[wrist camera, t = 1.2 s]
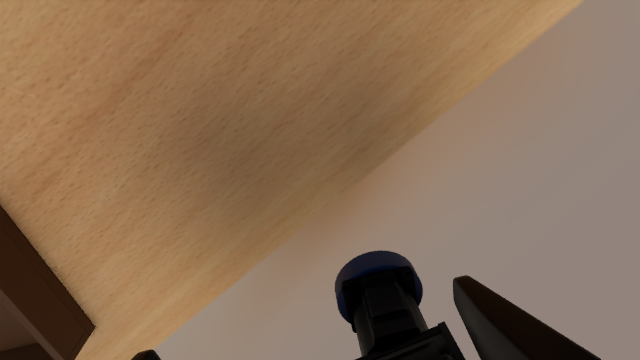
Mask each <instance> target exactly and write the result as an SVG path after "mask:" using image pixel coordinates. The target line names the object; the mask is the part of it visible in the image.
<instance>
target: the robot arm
mask: <svg viewBox="0 0 640 360" xmlns="http://www.w3.org/2000/svg"><path fill="white" fill-rule="evenodd" d="M406 271H408V272H406ZM346 285H348V286H346ZM345 286H346V287H345ZM341 289H342V293H343V296H344V300H345V304H346V308H347V312H348V315H349V319H350V323H351V327H352V331H353V332H354V333H357V336H358V341H359V345H360V350H361V354H362V357H360V358H358V359H355V360H465V358H464V356H463V354H462V352H461V351H460V349H459V347H458V346H457V343H456V342H455V340H454V338H453V336H452V335H451V333H450V331H449V329H448V327H447V325H446V324H445V322H442V323H439V324H438V326H436V327H433V328H431V329H428V327H427V325H426V322H425V320H424V318H423V316H422V314H421V312H420V310H419V307H418V304H417V296H416V287H415V279H414V272H413V269H412V267H410V266H403V267H399V268H395V269H390V270H386V271H382V272H378V273H374V274H369V275H365V276H361V277H357V278H353V279H348V280H345V281H343V282H342V283H341ZM453 294H454V302H455V305H456V307H457V310H458V312H459V314H460V316H461V318H462V320H463V322H464V324H465V327H466V329H467V331H468V333H469V335H470V338H471V340H472V342H473V344H474V346H475V348H476V350H477V352H478V354H479V357H480V359H481V360H601V359H600V358H599V357H597V356H595V355H594V354H592V353H591V352H589V351H588V350H586V349H584V348H583V347H581V346H579V345H578V344H576V343H575V342H573V341H572V340H570V339H568V338H567V337H565V336H564V335H562V334H560V333H559V332H557V331H556V330H554V329H552V328H551V327H549V326H548V325H546V324H544V323H543V322H541V321H540V320H538V319H537V318H535V317H533V316H532V315H530V314H529V313H527V312H525V311H524V310H522V309H521V308H519V307H517V306H516V305H514V304H513V303H511V302H510V301H508V300H506V299H505V298H503V297H501V296H500V295H498V294H497V293H495V292H493V291H492V290H490V289H489V288H487V287H486V286H484V285H482V284H481V283H479V282H478V281H476V280H474V279H473V278H471V277H470V276H461V277H457V278H454V280H453ZM131 360H161V359H160V358H159V356H158V355H157V353H156V352H155V351H154V350H146V351H142V352H139V353H137V354H136V355H135V356H134V357H133V358H132V359H131Z"/></svg>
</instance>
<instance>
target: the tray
mask: <svg viewBox="0 0 640 360" xmlns="http://www.w3.org/2000/svg"><path fill="white" fill-rule="evenodd" d="M94 329H95V326H94V325H93V324H92V323H91V321H90V320H89V319H88V318H87V316H86V315H85V314H84V312H83V311H82V310H81V309H80V307H79V306H78V305H77V303H76V302H75V301H74V300H73V298H72V297H71V296H70V294H69V293H68V292H67V291H66V289H65V288H64V287H63V286H62V284H61V283H60V282H59V280H58V279H57V278H56V277H55V275H54V274H53V273H52V271H51V270H50V269H49V268H48V266H47V265H46V264H45V263H44V261H43V260H42V259H41V257H40V256H39V255H38V254H37V252H36V251H35V250H34V248H33V247H32V246H31V245H30V243H29V242H28V241H27V239H26V238H25V237H24V236H23V234H22V233H21V232H20V231H19V229H18V228H17V227H16V225H15V224H14V223H13V222H12V220H11V219H10V218H9V216H8V215H7V214H6V213H5V211H4V210H3V209H2V208H1V206H0V360H75V358H76V357H77V355H78V353H79V352H80V350H81V349H82V347H83V346H84V344H85V343H86V341H87V339H88V338H89V336H90V335H91V333H92V332H93V330H94Z"/></svg>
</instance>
